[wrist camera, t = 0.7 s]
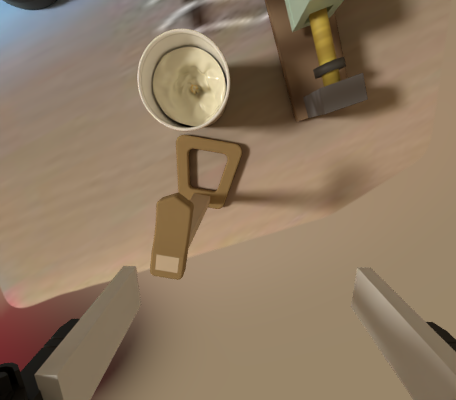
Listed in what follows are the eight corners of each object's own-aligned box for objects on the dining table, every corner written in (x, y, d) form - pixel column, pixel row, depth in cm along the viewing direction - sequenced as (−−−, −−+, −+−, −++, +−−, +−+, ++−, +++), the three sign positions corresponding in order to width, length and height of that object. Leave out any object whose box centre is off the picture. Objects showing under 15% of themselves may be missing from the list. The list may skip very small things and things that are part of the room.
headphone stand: (243, 144, 38) (253, 156, 17) (231, 209, 41) (228, 288, 20) (178, 133, 38) (106, 131, 17) (171, 199, 41) (102, 268, 20)
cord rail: (258, -25, 32) (266, -81, 24) (316, -51, 31) (345, -116, 23) (295, 122, 37) (313, 118, 29) (347, 104, 36) (380, 94, 28)
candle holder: (243, 111, 37) (246, 101, 25) (189, 143, 38) (169, 147, 27) (211, 49, 35) (199, 6, 23) (155, 86, 36) (118, 62, 25)
